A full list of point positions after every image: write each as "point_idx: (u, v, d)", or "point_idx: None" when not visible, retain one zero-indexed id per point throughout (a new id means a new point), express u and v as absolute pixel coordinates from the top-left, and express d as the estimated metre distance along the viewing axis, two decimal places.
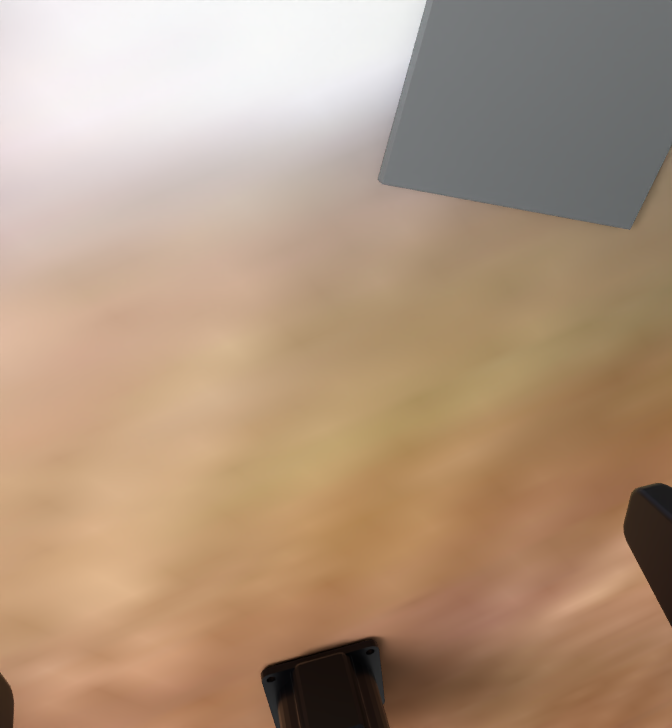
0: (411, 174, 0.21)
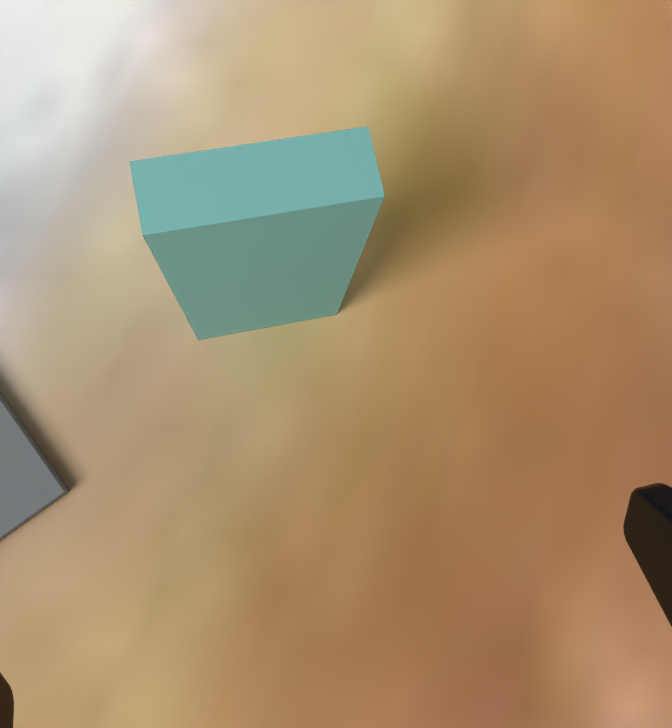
0: None
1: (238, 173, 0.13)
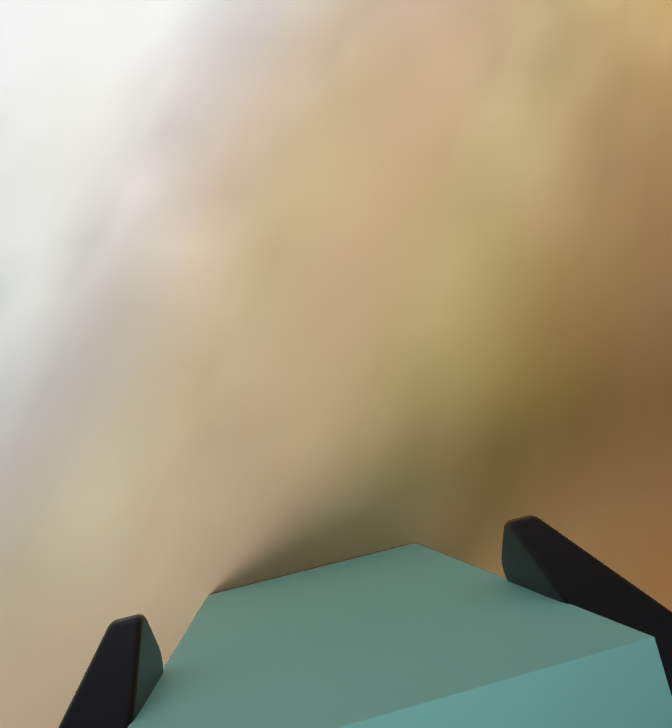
0: None
1: None
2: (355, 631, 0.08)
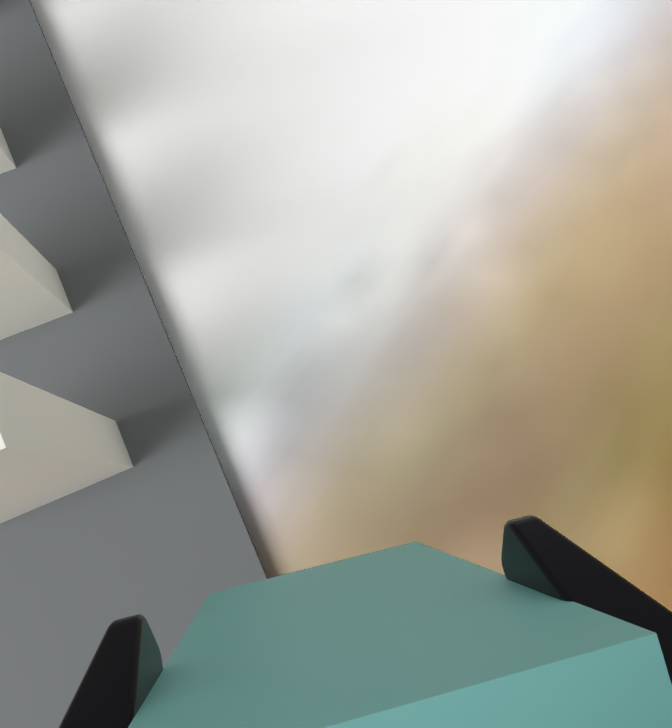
0: None
1: None
2: (357, 628, 0.08)
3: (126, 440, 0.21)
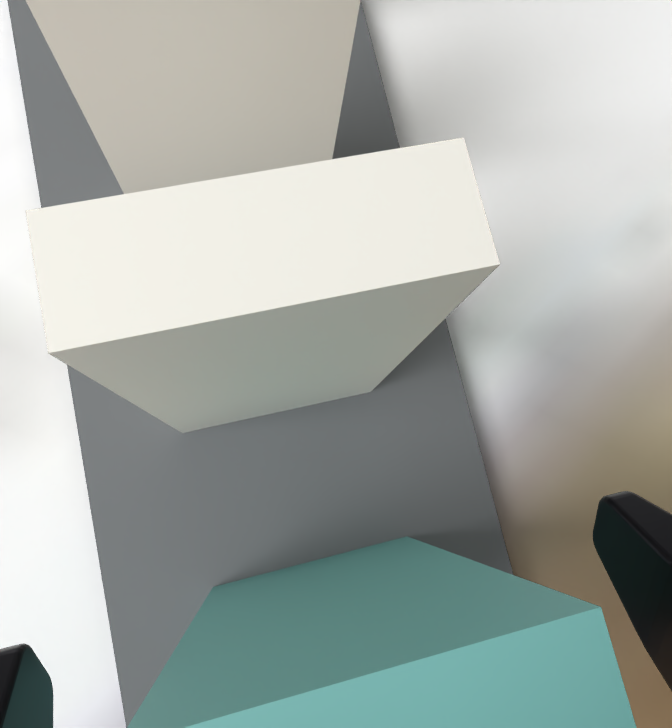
0: None
1: None
2: (348, 612, 0.09)
3: None
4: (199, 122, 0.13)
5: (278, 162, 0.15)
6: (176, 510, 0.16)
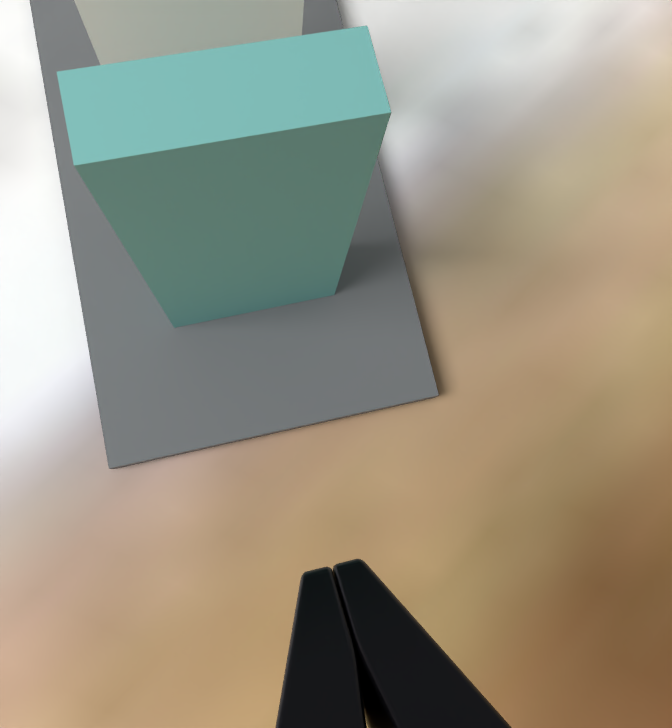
0: (137, 444, 0.19)
1: (199, 85, 0.10)
2: None
3: None
4: None
5: None
6: None
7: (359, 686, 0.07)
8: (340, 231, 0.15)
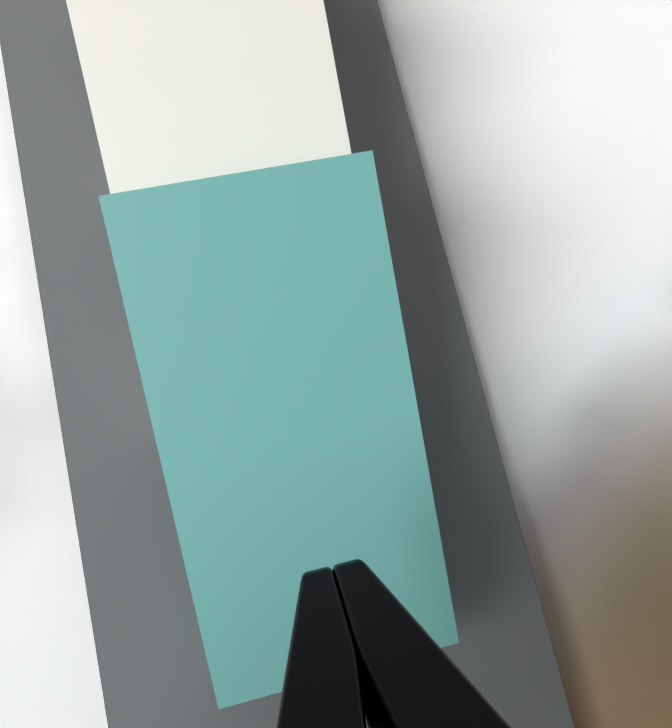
0: None
1: None
2: None
3: None
4: None
5: None
6: (183, 600, 0.14)
7: (359, 686, 0.07)
8: (399, 401, 0.13)
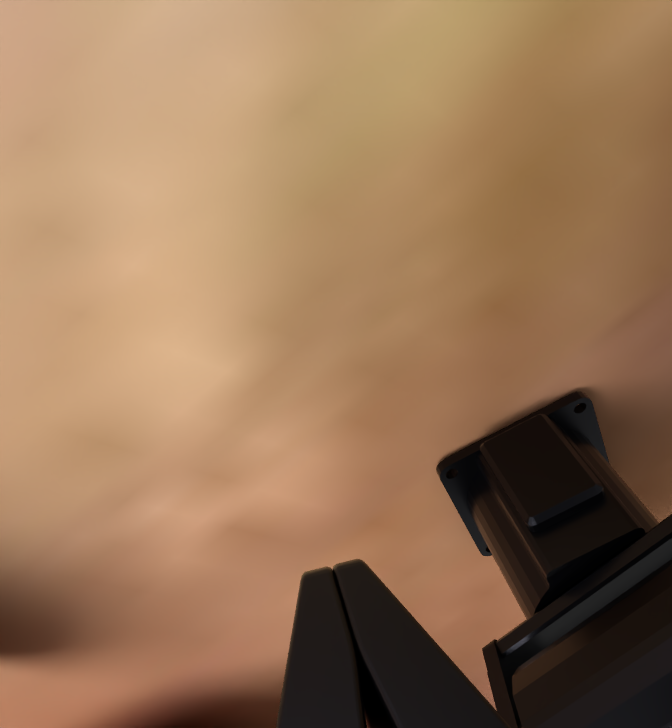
0: None
1: None
2: None
3: None
4: None
5: None
6: None
7: (359, 686, 0.07)
8: None
